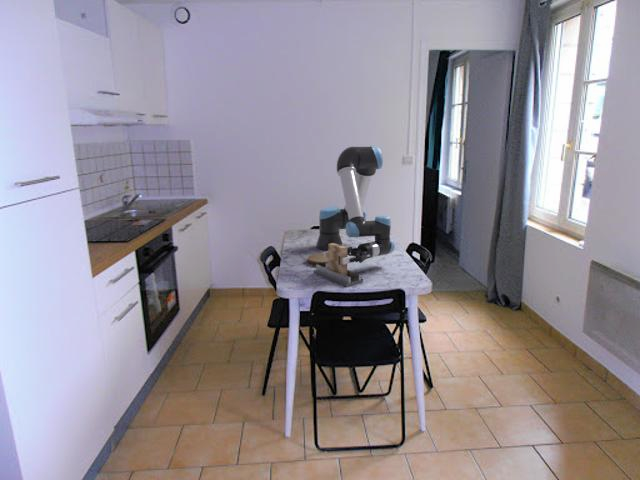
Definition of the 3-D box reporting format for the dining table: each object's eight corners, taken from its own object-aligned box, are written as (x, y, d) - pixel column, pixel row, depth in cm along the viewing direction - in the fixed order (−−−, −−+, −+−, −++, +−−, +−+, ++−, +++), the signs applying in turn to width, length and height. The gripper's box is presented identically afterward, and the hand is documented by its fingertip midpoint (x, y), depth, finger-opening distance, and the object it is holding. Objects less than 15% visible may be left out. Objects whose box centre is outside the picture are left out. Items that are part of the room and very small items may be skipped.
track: (313, 273, 214) (313, 265, 213) (329, 269, 220) (329, 261, 219) (346, 287, 196) (346, 278, 195) (363, 282, 202) (363, 274, 201)
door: (327, 272, 211) (327, 244, 207) (333, 271, 213) (333, 242, 209) (341, 278, 203) (341, 248, 199) (347, 276, 205) (347, 247, 201)
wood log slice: (337, 258, 240) (337, 253, 240) (338, 267, 225) (339, 261, 224) (307, 258, 240) (307, 253, 240) (307, 267, 225) (307, 262, 224)
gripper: (386, 263, 208) (351, 272, 196) (350, 252, 227) (317, 259, 215) (386, 248, 206) (351, 256, 194) (350, 238, 226) (317, 244, 213)
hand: (333, 258), depth 204 cm, fingers open, 13 cm apart
